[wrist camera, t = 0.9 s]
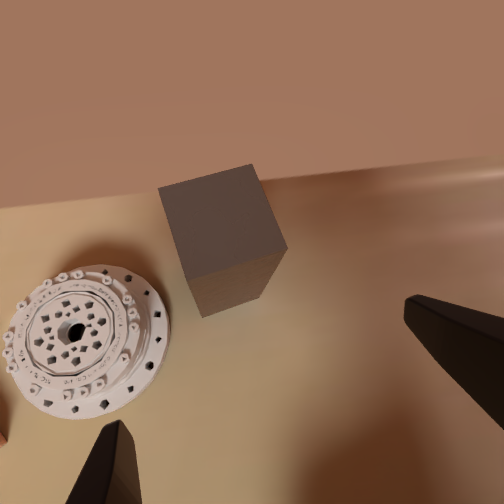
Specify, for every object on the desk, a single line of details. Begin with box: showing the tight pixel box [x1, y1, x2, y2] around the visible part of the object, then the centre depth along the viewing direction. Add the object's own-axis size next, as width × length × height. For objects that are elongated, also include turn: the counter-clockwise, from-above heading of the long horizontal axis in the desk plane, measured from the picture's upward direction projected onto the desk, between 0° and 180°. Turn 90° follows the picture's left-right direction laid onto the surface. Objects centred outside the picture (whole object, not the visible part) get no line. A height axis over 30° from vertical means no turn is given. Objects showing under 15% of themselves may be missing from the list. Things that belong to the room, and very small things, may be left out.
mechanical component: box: [2, 264, 170, 420], centre depth 20 cm, size 10×4×10 cm
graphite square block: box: [158, 164, 288, 318], centre depth 19 cm, size 4×4×11 cm
